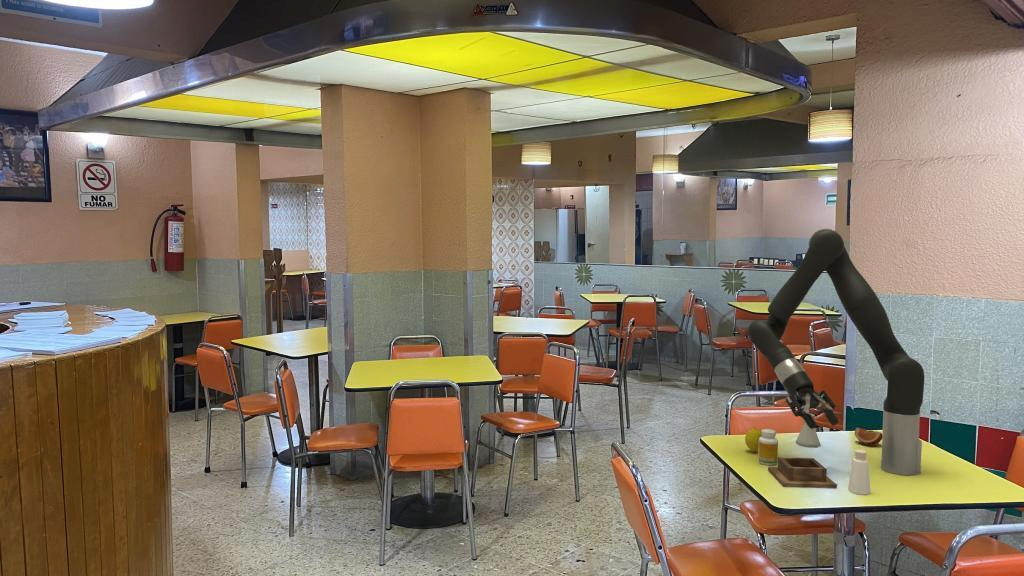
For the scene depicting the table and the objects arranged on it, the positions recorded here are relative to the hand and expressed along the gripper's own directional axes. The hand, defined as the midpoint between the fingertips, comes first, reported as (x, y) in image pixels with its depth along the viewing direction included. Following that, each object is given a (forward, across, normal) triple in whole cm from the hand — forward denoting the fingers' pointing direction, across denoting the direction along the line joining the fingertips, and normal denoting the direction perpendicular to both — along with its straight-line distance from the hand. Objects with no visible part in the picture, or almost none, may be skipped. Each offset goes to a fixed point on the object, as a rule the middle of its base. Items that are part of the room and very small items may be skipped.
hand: (825, 425), depth 196 cm
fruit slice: (-2, +42, +23) cm, 48 cm away
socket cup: (+9, -6, +12) cm, 16 cm away
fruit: (-8, +1, +30) cm, 31 cm away
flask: (-8, +24, +29) cm, 38 cm away
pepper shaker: (+19, 0, +3) cm, 19 cm away
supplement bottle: (-1, -3, +23) cm, 23 cm away
